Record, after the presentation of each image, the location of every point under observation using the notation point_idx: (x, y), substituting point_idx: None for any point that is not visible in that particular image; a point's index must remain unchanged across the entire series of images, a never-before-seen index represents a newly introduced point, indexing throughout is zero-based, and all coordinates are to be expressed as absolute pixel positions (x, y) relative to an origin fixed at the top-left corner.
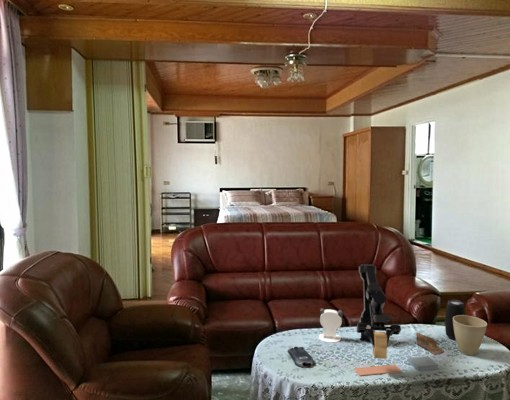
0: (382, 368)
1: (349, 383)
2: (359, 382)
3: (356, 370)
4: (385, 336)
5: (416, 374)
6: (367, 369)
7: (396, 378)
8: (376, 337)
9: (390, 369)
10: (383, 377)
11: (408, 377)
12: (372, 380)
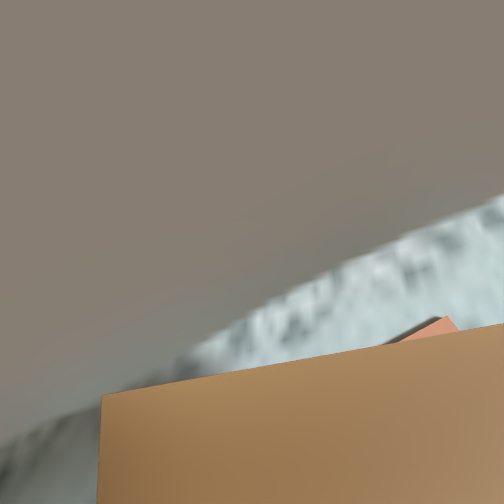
0: None
1: (477, 210)
2: (421, 239)
3: None
4: (166, 408)
5: (27, 476)
6: None
7: (188, 362)
8: (496, 327)
9: None
10: (275, 350)
11: None
12: (346, 287)
